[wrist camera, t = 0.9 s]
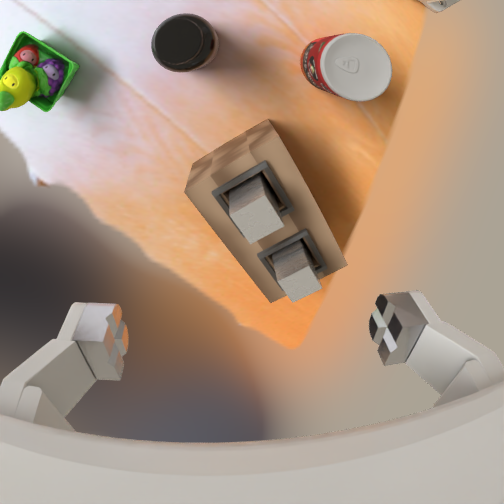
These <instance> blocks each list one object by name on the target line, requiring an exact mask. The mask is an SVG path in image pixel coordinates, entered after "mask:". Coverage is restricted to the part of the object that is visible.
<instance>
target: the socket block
mask: <svg viewBox="0 0 504 504" xmlns="http://www.w3.org/2000/svg"><path fill="white" fill-rule="evenodd" d="M261 171H262V172H263V173H264V175H265V177H266V180H267V182H268V183H269V185H270V186H271V188H272V190H273V192H274V195H275V198H276V201H277V204H278V207H279V210H280V213H281V217H282V220H283V223H284V227H282V228H280V229H278V230H276V231H274V232H272V233H271V234H269V235H267V236H265V237H263V238H261V239H259V240H257V241H256V242H254V243H252V244H250V243H249V242H248V240H247V239H246V238H245V236H244V235H243V233H242V232H241V231H240V229H239V228H238V226H237V225H236V224H235V222H234V221H233V220H232V218H231V217H230V215H229V189H231V188H233V187H234V186H236V185H238V184H240V183H241V182H243V181H245V180H247V179H248V178H250V177H252V176H254V175H255V174H257V173H259V172H261ZM184 192H185V194H186V195H187V196H188V198H189V199H190V200H191V202H192V203H193V204H194V205H195V207H196V208H197V209H198V211H199V212H200V213H201V215H202V216H203V217H204V218H205V220H206V221H207V222H208V224H209V225H210V226H211V227H212V229H213V230H214V231H215V233H216V234H217V235H218V237H219V238H220V239H221V240H222V242H223V243H224V244H225V246H226V247H227V248H228V249H229V251H230V252H231V253H232V255H233V256H234V257H235V258H236V260H237V261H238V262H239V263H240V265H241V266H242V267H243V269H244V270H245V271H246V272H247V274H248V275H249V276H250V277H251V279H252V280H253V281H254V283H255V284H256V285H257V286H258V288H259V289H260V290H261V291H262V293H263V294H264V295H265V297H266V298H267V299H268V300H269V302H270V303H272V302H274V301H276V300H278V299H280V298H282V297H285V296H287V294H286V293H285V291H284V290H283V289H282V287H281V286H280V285H279V283H278V282H277V277H276V272H275V268H274V263H273V258H272V253H274V252H276V251H278V250H280V249H282V248H283V247H285V246H287V245H289V244H291V243H293V242H295V241H297V240H299V239H301V238H302V239H303V241H304V243H305V244H306V246H307V248H308V251H309V254H310V256H311V259H312V262H313V264H314V267H315V270H316V272H317V275H318V278H319V279H321V278H323V277H325V276H327V275H329V274H331V273H333V272H335V271H337V270H339V269H341V268H343V267H345V266H347V265H348V264H347V263H346V260H345V258H344V256H343V254H342V252H341V250H340V248H339V246H338V244H337V242H336V240H335V238H334V236H333V234H332V232H331V230H330V228H329V226H328V224H327V222H326V220H325V218H324V216H323V214H322V213H321V211H320V209H319V207H318V205H317V203H316V201H315V199H314V197H313V196H312V194H311V192H310V190H309V188H308V186H307V184H306V183H305V181H304V179H303V177H302V175H301V174H300V172H299V170H298V168H297V166H296V165H295V163H294V161H293V159H292V158H291V156H290V154H289V152H288V151H287V149H286V147H285V145H284V144H283V142H282V140H281V139H280V137H279V135H278V134H277V132H276V131H275V129H274V128H273V126H272V124H271V123H270V121H269V120H268V119H267V120H265V121H263V122H261V123H260V124H258V125H256V126H254V127H253V128H251V129H249V130H247V131H246V132H244V133H242V134H241V135H239V136H237V137H235V138H234V139H232V140H230V141H229V142H227V143H225V144H224V145H222V146H220V147H219V148H217V149H216V150H214V151H212V152H211V153H209V154H207V155H206V156H204V157H203V158H201V159H199V160H198V161H196V162H195V163H193V165H192V168H191V171H190V175H189V178H188V181H187V185H186V188H185V191H184Z"/></svg>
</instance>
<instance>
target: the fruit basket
mask: <svg viewBox="0 0 504 504" xmlns="http://www.w3.org/2000/svg"><path fill="white" fill-rule="evenodd" d="M78 69H79V65H78V64H77V63H75V62H74V61H71V60H69V59H68V58H67V57H66V56H64V55H63V54H61V53H59V52H57V51H56V50H55V49H53V48H52V47H50V46H48V45H46V44H45V43H44V42H42V41H40V40H38V39H36V38H35V37H33V36H32V35H30V34H28V33H26V32H24V31H23V32H20V33H19V34H18V35H17V37H16V39H15V41H14V43H13V45H12V47H11V49H10V51H9V53H8V55H7V57H6V59H5V61H4V63H3V65H2V67H1V69H0V111H6V110H8V109H10V108H17V107H20V106H22V105H24V104H25V103H26V102H28V101H30V102H31V103H33V104H34V105H35V106H37V107H38V108H40V109H41V110H43V111H45V112H48V111H50V110H51V109H52V107H53V106H54V104H55V103H56V102H57V101H58V100H59V99H60V97H61V96H62V95H63V94H64V91H65V89H66V88H67V87H68V85H69V84H70V82H71V80H72V78H73V77H74V74H75V72H76V71H77V70H78Z"/></svg>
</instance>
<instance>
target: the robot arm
mask: <svg viewBox="0 0 504 504" xmlns="http://www.w3.org/2000/svg"><path fill="white" fill-rule="evenodd" d="M418 1H420V2H422V3H423V4H424V5H425V6H426V7H427V8H429V9H430V10H431V11H433V12H441V11H443V10H444V9H446V8H448V7H449V6H451V5H453V4H455V3H456V2H458V1H460V0H418ZM439 1H440V2H441V4H440V3H439ZM375 304H376V306H377V309H376V310H375V311H374V312H373V313H372V314H371V317H370V320H369V330H370V335H371V337H372V340H373V341H374V342H375V343H377V344H378V345H379V347H378V353H379V355H380V358H381V360H382V362H383V364H384V366H386V365H392V364H398V363H405V362H406V363H405V364H407V365H408V366H409V367H410V368H411V369H412V370H413V371H414V372H416V373H417V374H418V375H419V376H420V377H421V378H422V379H424V380H425V381H426V382H427V383H428V384H429V385H430V386H431V387H433V388H434V389H435V390H436V391H437V392H438V393H439V394H441V396H440V398H439V399H438V400H437V401H436V403H435V404H434V406H433V408H430V409H428V410H424V411H421V412H418V413H414V414H410V415H407V416H403V417H400V418H396V419H392V420H388V421H384V422H379V423H375V424H371V425H366V426H362V427H357V428H352V429H346V430H341V431H335V432H329V433H324V434H317V435H310V436H302V437H294V438H285V439H275V440H264V441H249V442H228V443H176V442H156V441H142V440H130V439H121V438H113V437H105V436H98V435H91V434H84V433H79V432H75V430H74V429H73V427H72V426H71V425H70V424H69V423H68V422H67V421H66V419H65V416H66V415H67V414H68V413H69V412H70V411H71V409H72V408H73V407H74V406H75V405H76V404H77V402H78V401H79V400H80V399H81V398H82V396H83V395H84V394H85V393H86V392H87V391H88V390H89V388H90V387H91V386H92V385H93V384H94V383H95V381H96V379H102V380H121V376H122V371H123V366H124V362H123V360H122V356H123V355H124V354H125V353H127V348H128V331H127V327H126V324H125V323H124V322H123V321H122V320H120V319H121V316H122V312H121V309H120V306H119V305H118V304H104V303H78V302H75V303H74V304H72V306H71V308H70V310H69V312H68V314H67V317H66V319H65V321H64V324H63V326H62V328H61V330H60V333H59V335H58V337H57V339H52V340H51V341H50V342H48V343H47V344H46V345H45V346H43V347H42V348H41V349H40V350H38V351H37V352H36V353H35V354H33V355H32V356H31V357H30V358H28V359H27V360H26V361H25V362H23V363H22V364H21V365H20V366H19V367H17V368H16V369H15V370H14V371H12V372H11V373H10V374H9V375H8V376H6V377H5V378H4V379H3V381H2V384H1V387H0V504H504V367H503V365H502V363H501V362H500V360H499V359H498V357H497V356H496V354H495V353H494V352H493V351H492V350H490V349H489V348H487V347H485V346H484V345H482V344H481V343H479V342H477V341H476V340H474V339H473V338H471V337H470V336H468V335H466V334H465V333H463V332H461V331H460V330H458V329H457V328H455V327H453V326H452V325H450V324H448V323H447V322H445V321H443V322H441V320H440V319H439V317H438V316H437V314H436V313H435V311H434V310H433V308H432V307H431V305H430V304H429V303H428V301H427V299H426V298H425V297H424V295H423V294H422V292H420V291H418V290H416V291H406V292H398V293H389V294H380V295H379V296H378V297H377V300H376V303H375Z"/></svg>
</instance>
